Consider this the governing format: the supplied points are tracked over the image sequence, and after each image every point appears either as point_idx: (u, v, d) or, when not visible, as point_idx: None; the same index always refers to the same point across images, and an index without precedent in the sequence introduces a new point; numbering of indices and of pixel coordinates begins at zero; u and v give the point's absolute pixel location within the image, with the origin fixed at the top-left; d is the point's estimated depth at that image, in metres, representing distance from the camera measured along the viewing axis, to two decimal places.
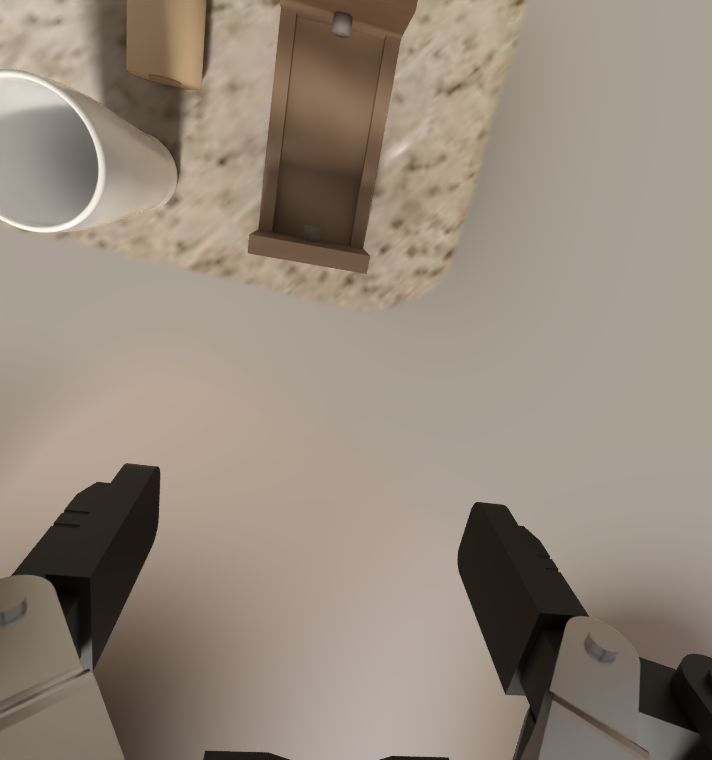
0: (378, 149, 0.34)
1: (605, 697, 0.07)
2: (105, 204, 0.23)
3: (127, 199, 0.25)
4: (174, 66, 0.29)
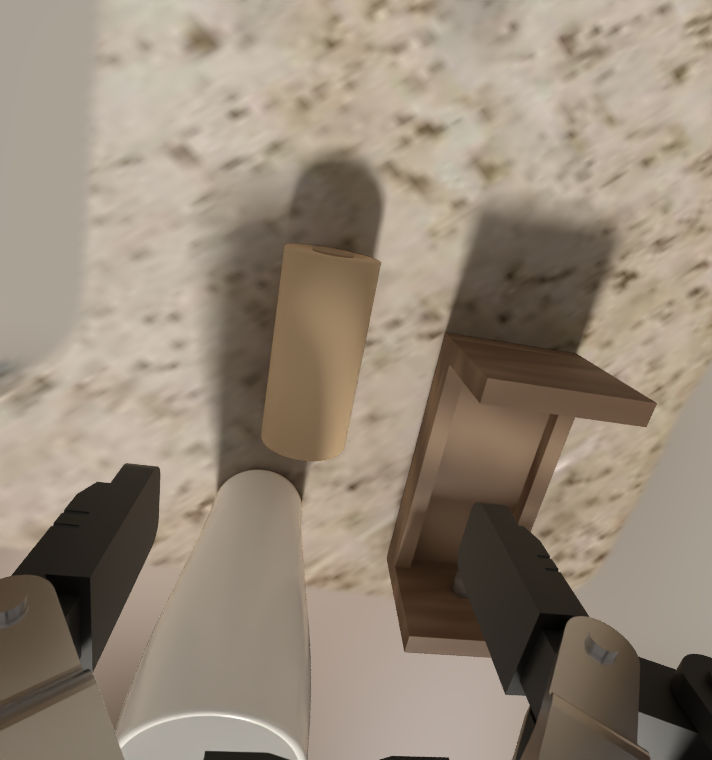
0: (544, 488, 0.28)
1: (606, 697, 0.07)
2: None
3: None
4: (326, 451, 0.24)
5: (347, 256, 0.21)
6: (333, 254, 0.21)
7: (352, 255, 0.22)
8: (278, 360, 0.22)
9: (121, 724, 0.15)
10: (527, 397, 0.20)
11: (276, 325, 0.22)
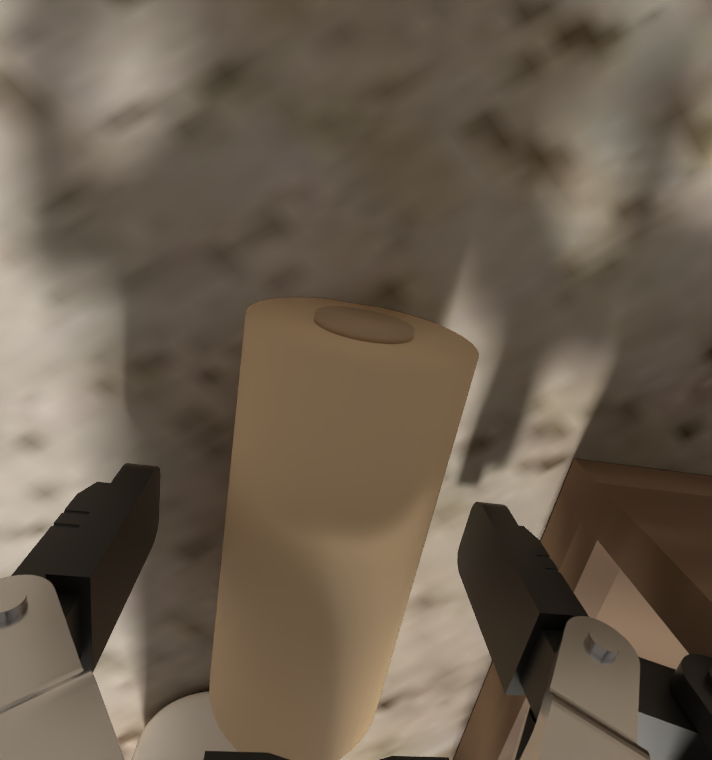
0: None
1: (605, 697, 0.07)
2: None
3: None
4: (343, 744, 0.11)
5: (400, 340, 0.09)
6: (367, 338, 0.08)
7: (411, 335, 0.09)
8: (236, 575, 0.10)
9: None
10: None
11: (230, 492, 0.10)
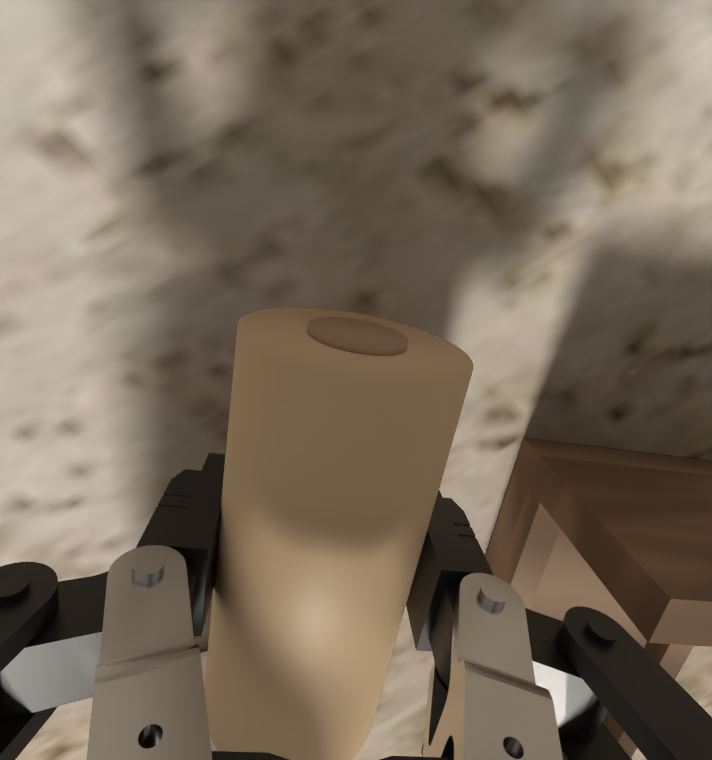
0: (675, 671, 0.18)
1: (504, 647, 0.08)
2: None
3: None
4: (339, 759, 0.11)
5: (394, 352, 0.09)
6: (360, 350, 0.08)
7: (405, 346, 0.09)
8: (229, 590, 0.09)
9: None
10: None
11: (223, 505, 0.09)
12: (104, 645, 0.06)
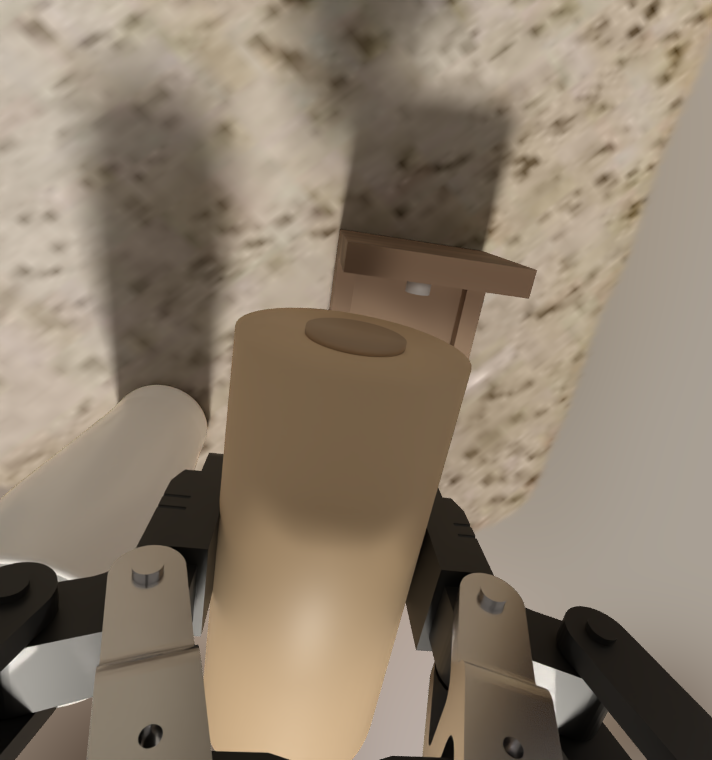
0: None
1: (504, 647, 0.08)
2: None
3: None
4: None
5: (392, 353, 0.09)
6: (358, 351, 0.08)
7: (403, 347, 0.09)
8: (227, 591, 0.09)
9: None
10: (394, 264, 0.19)
11: (221, 507, 0.09)
12: (104, 645, 0.06)
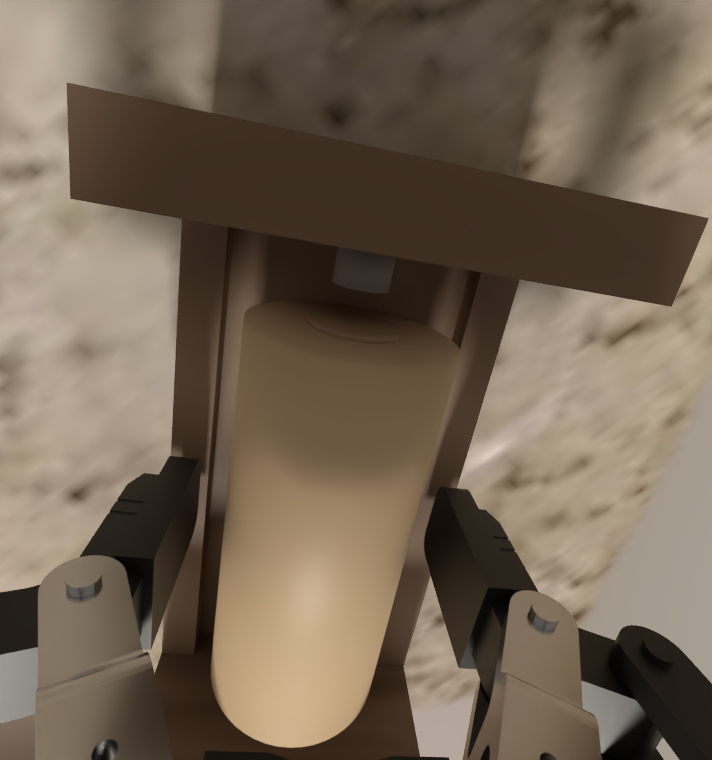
0: None
1: (551, 666, 0.07)
2: None
3: None
4: (338, 721, 0.12)
5: (388, 340, 0.09)
6: (356, 338, 0.09)
7: (397, 335, 0.10)
8: (236, 561, 0.10)
9: None
10: (247, 178, 0.06)
11: (230, 483, 0.10)
12: (41, 668, 0.06)
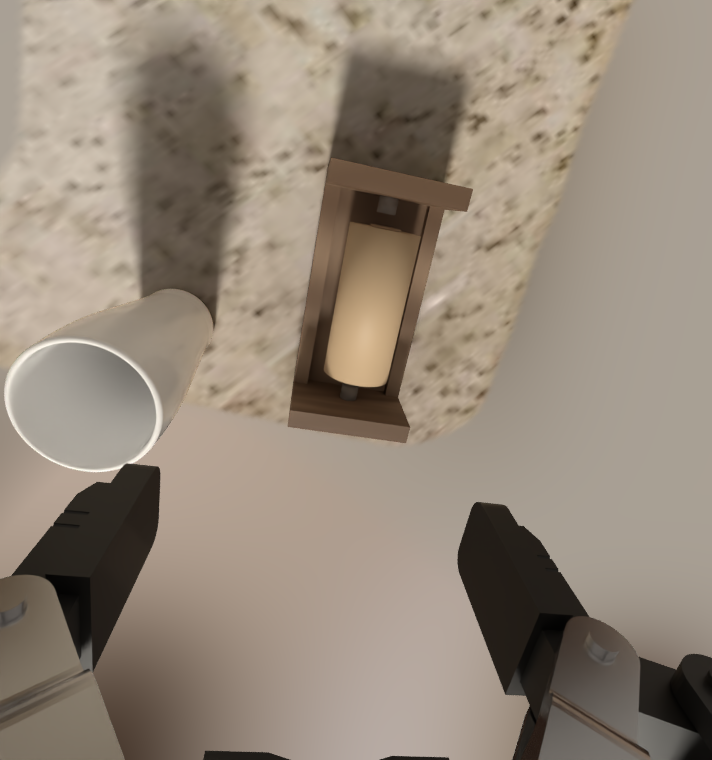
0: (417, 309, 0.33)
1: (606, 698, 0.07)
2: (158, 438, 0.22)
3: (176, 413, 0.24)
4: (377, 379, 0.31)
5: (397, 231, 0.29)
6: (388, 229, 0.29)
7: (400, 230, 0.29)
8: (345, 309, 0.30)
9: None
10: (365, 177, 0.25)
11: (343, 283, 0.30)
12: None
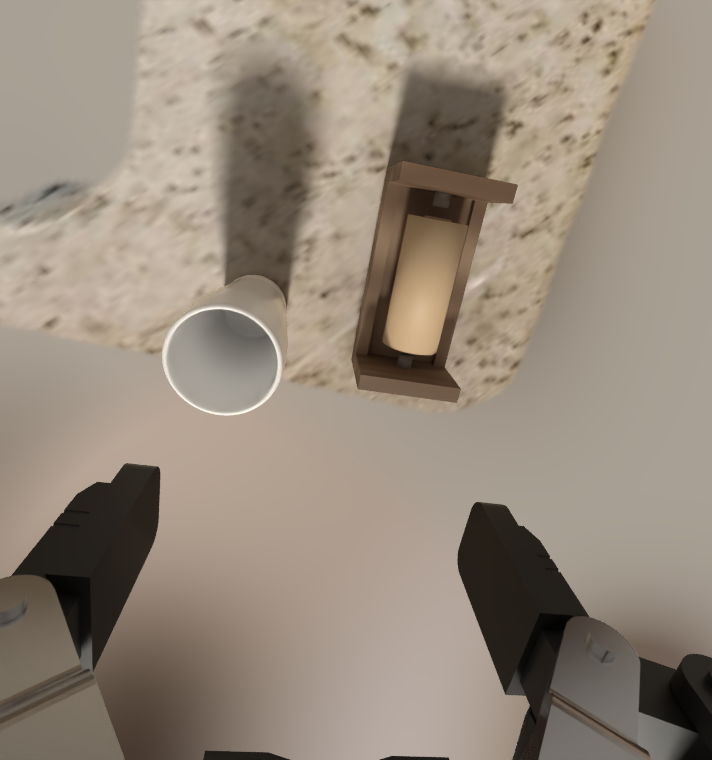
0: (462, 289, 0.39)
1: (606, 697, 0.07)
2: None
3: None
4: (430, 348, 0.37)
5: (449, 221, 0.34)
6: (441, 219, 0.34)
7: (451, 220, 0.35)
8: (404, 288, 0.35)
9: None
10: (430, 176, 0.31)
11: (401, 265, 0.35)
12: None
